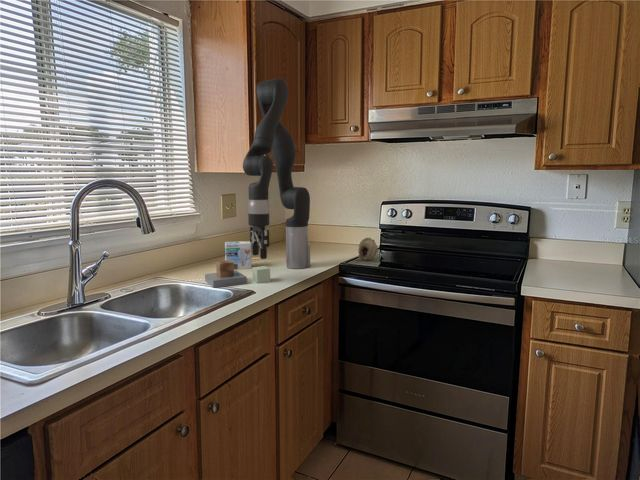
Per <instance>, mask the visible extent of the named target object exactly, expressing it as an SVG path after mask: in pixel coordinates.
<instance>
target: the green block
mask: <svg viewBox="0 0 640 480" xmlns="http://www.w3.org/2000/svg"><path fill="white" fill-rule="evenodd" d="M251 269H252V281H253V282H254V283H256V284H262V283H264V282H265V283H270V282H271V268H270V267H268V266H267V265H264V266H262V265H261V266H253V267H252V268H251Z"/></svg>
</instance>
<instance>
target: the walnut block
mask: <svg viewBox="0 0 640 480" xmlns="http://www.w3.org/2000/svg"><path fill="white" fill-rule="evenodd" d="M215 265H216V266H215V268H216V271H215V273H217V275H218V276H219V277H220V278H221V277H230V276H234V271H235V269H234V262H232V261H230V260H225V259H224V260H217V261H215Z"/></svg>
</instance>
